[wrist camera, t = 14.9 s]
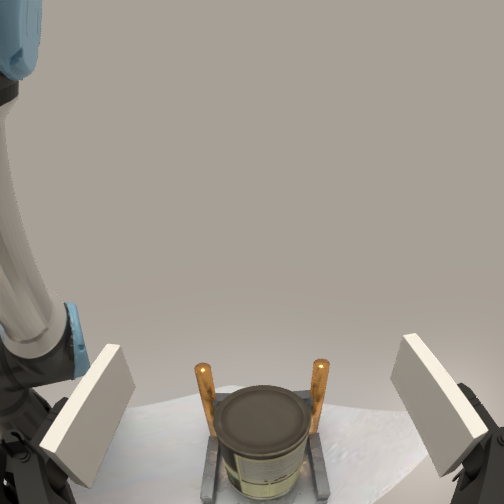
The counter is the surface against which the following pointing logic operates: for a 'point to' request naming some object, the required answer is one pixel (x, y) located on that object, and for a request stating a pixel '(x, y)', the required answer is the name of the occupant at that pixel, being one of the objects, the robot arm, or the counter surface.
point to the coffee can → (262, 439)
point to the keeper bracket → (313, 467)
